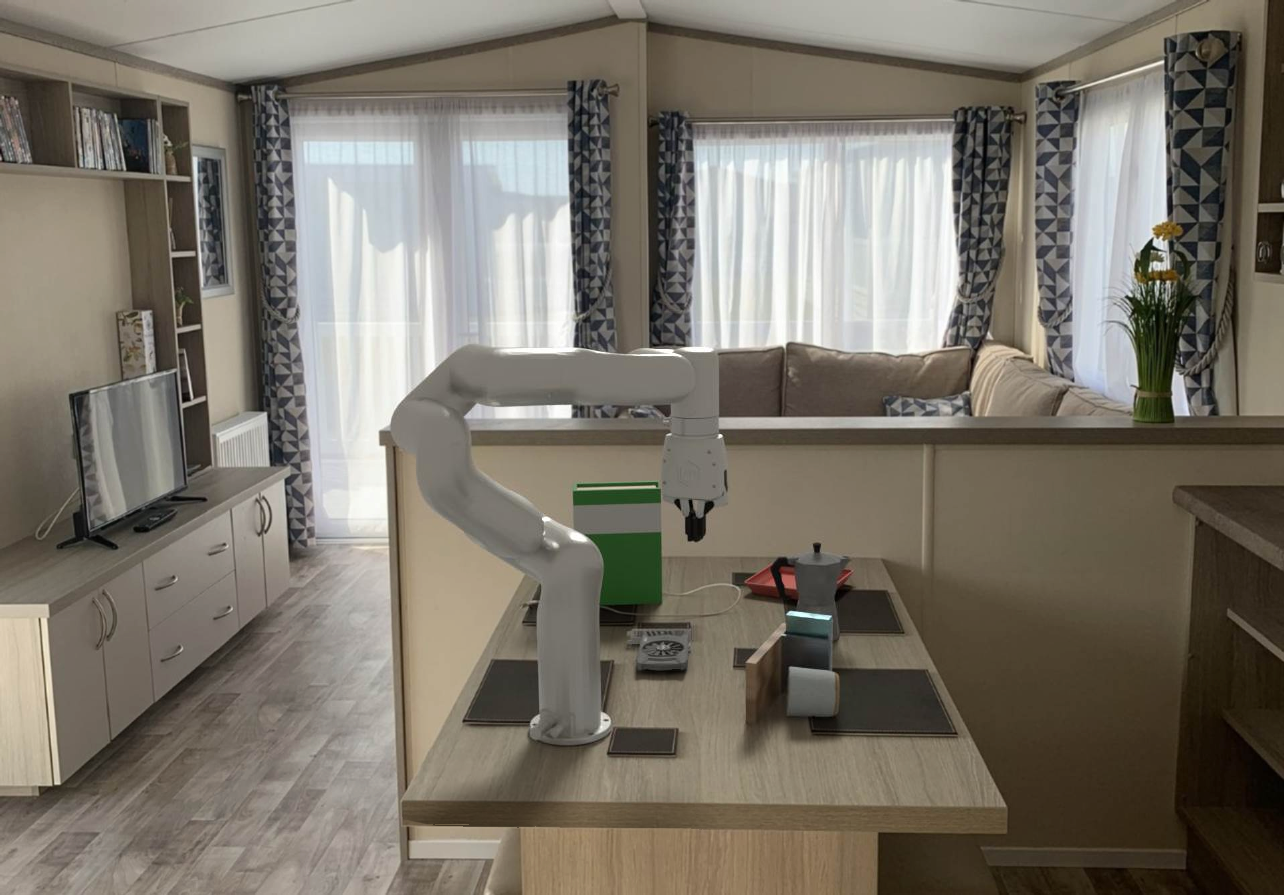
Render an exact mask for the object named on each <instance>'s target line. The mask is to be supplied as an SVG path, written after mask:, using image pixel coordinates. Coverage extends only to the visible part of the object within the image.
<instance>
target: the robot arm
mask: <svg viewBox="0 0 1284 895" xmlns="http://www.w3.org/2000/svg"><path fill="white" fill-rule="evenodd" d="M719 359H720V358H719V354H718V352H717V351H716V350H715V349H714V348H711V347H706V346H685V347H679V348H676V349H658V348H657V349H655V348H648V347H647V348H646V347H645V348H644V347H643V348H642V347H641V348H637V349H633V350H632V351H630V352H628V353H627V354H624V353H615V352H614V353H613V352H612V353H611V352H604V351H598V350H594V349H588V348H584V347H583V348H582V347H571V346H557V347H556V346H550V347H549V346H548V347H546V346H545V347H516V346H515V347H495V346H490V345H489V346H488V345H484V344H480V343H470V344H466V345H463V346H461V347H459V348H458V349H456V350H454V352H452V353H451V354H450V355H449V356H447V357H446V358H445V359H444V360H443V361H442V362H441V363H440V364H439V365H438V366H437V367H436V368H435V369H433V371H431V373H429V374H428V376H426V377H425V378H424V379H423V380H422V381H421V382H420V383H419V384H418V385H416V387H415V388H413V389H412V390H411V391H410V392H409V393H408V394H407V395H406V396H405V397H404V398H403V399H402V400H401V401H400V402H399V404H398V405H397V406H396V408H395V409H394V411H393V413H392V416H391V419H390V425H389V429H390V430H389V431H390V434H391V437H392V439H393V441H394V443H395V444H396V445H397V446H398V447H399V449H401V450H402V451H403V452H404V453H407V454H409V455H410V456H412V457H415V476H416V477H415V478H416V481H417V485H418V489H419V491H420V495H421V497H422V498H423V500H424V502H425V503H426V504H427V506H429V507H430V508H431V509H432V510H433V511H434V512H435V513H437V514H438V515H439V516H441V517H442V518H444V520H446V521H448V522H450V523H451V524H452V525H454V526H455V527H456V528H458V529H460V530H461V531H462V532H463V533H464V534H465V536H466V537H467V538H468V539H469V540H470V541H471V542H473V543H474V544H476V545H477V546H478V547H480V548H482V549H483V550H485V551H487V552H488V553H490V554H491V555H493V556H495V557H496V558H498V559H499V560H502V561H503V562H505V563H506V564H508V565H509V566H511V567H513V568H514V569H516V570H518V571H519V572H521V573H523V574H524V575H526V576H528V577H530V578H531V579H533V580H534V581H536V582H537V583H539V584H540V585H541V588H540V589H541V590H540V591H541V592H540V598H539V601H538V605H537V609H536V610H537V611H536V640H537V642H536V644H537V665H538V666H537V672H538V676H537V677H538V702H539V703H538V704H539V708H538V710H539V714H537V715H535V716H534V717H533V718H532V719H531V720H530V723H529V736H530V737H531V739H533V740H535V741H537V740H538V741H540V742H541V743H546V744H550V745H554V746H556V745H557V746H579V745H585V744H590V743H593V742H596V741H599V740H601V739H603V738H605V737H606V736H608V734H609V733H610V732H611V731H612V725H613V724H612V718H611V717H610V716H609V715H608V714H606V713H605V712H603V711H602V693H601V692H602V686H601V685H602V683H601V640H600V639H601V635H600V632H601V631H600V605H599V603H600V593H601V586H602V580H603V572H604V564H603V559H602V555H601V553H600V551H599V549H598V547H597V546H596V545H595V544H594V542H593V541H592V540H590V539H589V538H588V537H586V536H585V535H583V534H581V533H579V532H577V531H575V530H574V528H572V527H568V526H566V525H563V524H561V523H560V522H557V520H554V519H552V518H550V517H549V516H548V515H545V513H542V512H541V511H539V510H538V509H537V507H536V506H535V505H534V504H533V503H532V502H531V501H530V500H528V499H527V498H526V497H524V496H523V495H520V494H518V493H517V492H514V491H513V490H511V489H509V488H506V487H504V486H503V485H502V484H500V483H499V482H497V481H495V480H494V479H493V478H491V477H490V476H489V475H488V474H486V473H484V472H483V471H481V470H480V469H479V468H478V467H477V466H476V465H475V463H474V461H473V454H472V434H471V429H470V426H469V423H468V421H467V420H466V417H465V416H466V415H467V414H469V412H470V411H471V410H472V409H473V408H474V407H475V406H476V405H478V404H479V405H482V406H486V407H492V408H493V407H494V408H509V407H513V408H516V407H532V406H533V407H536V406H538V407H539V406H583V407H584V406H585V407H586V406H587V407H588V406H592V407H593V406H629V407H630V406H633V407H634V406H636V407H637V406H661V405H663V406H664V405H665V406H666V405H670V415H669V416H667V417H663V419H662V425H663V426H664V427H668V428H669V432H670V433H668V434H666V435H665V438H664V442H663V448H662V449H663V450H662V457H661V466H660V467H661V468H660V488H661V495H663V496H662V500H663V501H664V502H665V503H669V504H671V505H675V506H676V508H678V510H679V511H680V513H681V514H682V516H683V517H684V534H685V535H686V536H687V538H686V539H687V542H689V543H691V542H694V543H699V542H700V541H701V540H703V539H704V537H705V536H706V534H707V533H706V532H707V514H709V513H710V512H711V511H712V510H713V509H714V508H716V509H717V508H722V507H726V506H727V505H728V504H729V498H728V490H729V467H728V458H727V457H728V456H727V450H726V444H725V440H724V436H723V434H720V431H719V430H720V373H719V372H720V365H719V364H720V361H719ZM695 501H697V504H696V508H695Z"/></svg>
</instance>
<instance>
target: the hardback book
mask: <svg viewBox="0 0 1284 895" xmlns="http://www.w3.org/2000/svg"><path fill="white" fill-rule="evenodd" d="M572 517H573V518H572V520H573V524H572V525H573V530H575V531H577V532H579V533H581V534H583V535H585V536H586V537H588V538H589V539H590V540H592V541H593V542H594V544H595V545H596V546H597V547H598V549H599V551H600V553H601V555H602V559H603V564H604V572H603V580H602V586H601V593H600V603H599V604H600V605H599V606H619V605H647V604H649V605H651V604H652V605H653V604H663V575H662V574H663V567H662V566H663V565H662V564H663V559H662V557H663V554H662V553H663V552H662V550H663V549H662V548H663V546H662V545H663V544H662V493H661V487H659V480H641V481H640V480H636V481H635V480H634V481H633V480H632V481H601V482H596V481H595V482H572Z"/></svg>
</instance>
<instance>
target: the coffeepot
mask: <svg viewBox="0 0 1284 895" xmlns="http://www.w3.org/2000/svg"><path fill="white" fill-rule="evenodd" d="M821 546H822V543H820V542H813V543H812V547H813V551H806V552H801V553H795V554H794V555H793V556H792V555H791V556H790V555H789V556H778V557H777V558H776V560H774V561H773V562H772V563H773V564H772V563H771V564H772V565H771V564H770V565H771V569H770V570H771V573H772V576H773V579H774V581H775V584H776V587H777V590H778V593H779V596H780V597H779V599H781V600H783V601H786V600H789V601H790V600H792V599H791V597H792V595H789V594H786V593H785V586H784V584H783V582H782V575H781V572H780V570H779V569H780V568H781V567H794V575H795V582H796V589H797V593H798V594H799V600H797V606H796V610H795V612H803V613H812V614H821V615H829V616H832V620H833V634H832V642H834V640H835V641H837V640H838V639H839V637H840V634H841V633H840V632H841V631H840V625H839V619H838V610H837V606H836V605H837V604H836V601H835V595H836V592H837V590H836V588H837V582H838V578H839V576H840V575H841V573H842V571H843V570H844V569H846V566H848V564H849V563H850V562H852V558H850V556H846V555H841V554H834V553H831V552H826V551H821Z"/></svg>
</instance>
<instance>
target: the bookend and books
mask: <svg viewBox="0 0 1284 895" xmlns="http://www.w3.org/2000/svg"><path fill="white" fill-rule="evenodd" d="M785 623H786V634H782V646H781V694H785V695H787V681H788V669H789V667H799V668H808V669H817V670H828V671H832V672H833V641H832V634H833V620H832V616H829V615H821V614H812V613H803V612H796V611H793V610H789V611H788V612H787V613H786V614H785Z"/></svg>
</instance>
